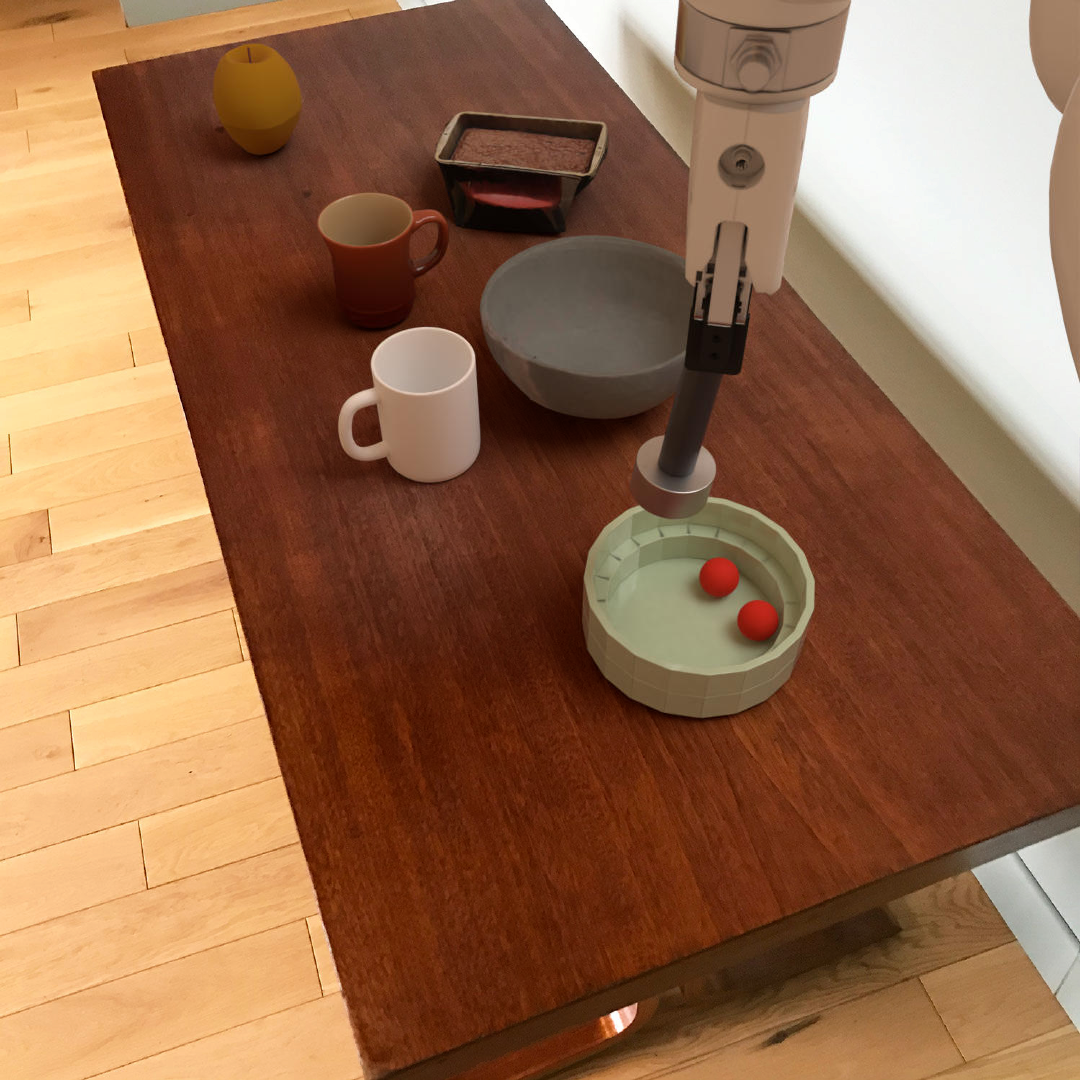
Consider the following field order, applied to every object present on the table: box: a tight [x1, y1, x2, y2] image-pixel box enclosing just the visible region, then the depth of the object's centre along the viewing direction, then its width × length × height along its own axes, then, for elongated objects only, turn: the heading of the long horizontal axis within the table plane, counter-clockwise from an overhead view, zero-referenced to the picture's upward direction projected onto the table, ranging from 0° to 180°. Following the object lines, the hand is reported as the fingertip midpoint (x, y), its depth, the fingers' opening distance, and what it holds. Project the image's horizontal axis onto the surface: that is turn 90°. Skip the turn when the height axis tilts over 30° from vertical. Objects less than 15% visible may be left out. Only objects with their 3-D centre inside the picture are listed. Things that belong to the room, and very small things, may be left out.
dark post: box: [629, 283, 740, 520], centre depth 67 cm, size 5×5×18 cm
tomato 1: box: [699, 557, 739, 597], centre depth 84 cm, size 3×3×3 cm
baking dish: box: [433, 111, 610, 234], centre depth 118 cm, size 14×18×10 cm
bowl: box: [479, 234, 695, 420], centre depth 98 cm, size 20×20×10 cm
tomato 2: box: [737, 600, 779, 641], centre depth 82 cm, size 3×3×3 cm
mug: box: [316, 192, 450, 329], centre depth 105 cm, size 12×9×10 cm
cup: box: [337, 326, 481, 484], centre depth 92 cm, size 8×12×10 cm
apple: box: [212, 43, 303, 156], centre depth 124 cm, size 10×10×12 cm
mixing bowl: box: [581, 496, 816, 719], centre depth 81 cm, size 16×16×6 cm
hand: (714, 349), depth 64 cm, fingers closed on dark post, 2 cm apart
